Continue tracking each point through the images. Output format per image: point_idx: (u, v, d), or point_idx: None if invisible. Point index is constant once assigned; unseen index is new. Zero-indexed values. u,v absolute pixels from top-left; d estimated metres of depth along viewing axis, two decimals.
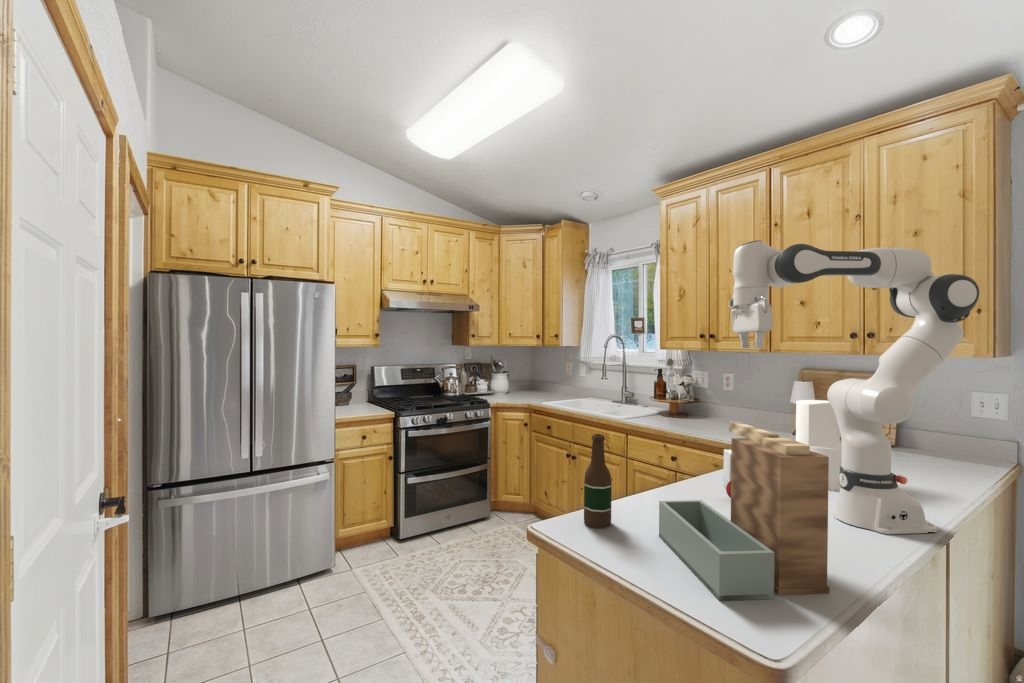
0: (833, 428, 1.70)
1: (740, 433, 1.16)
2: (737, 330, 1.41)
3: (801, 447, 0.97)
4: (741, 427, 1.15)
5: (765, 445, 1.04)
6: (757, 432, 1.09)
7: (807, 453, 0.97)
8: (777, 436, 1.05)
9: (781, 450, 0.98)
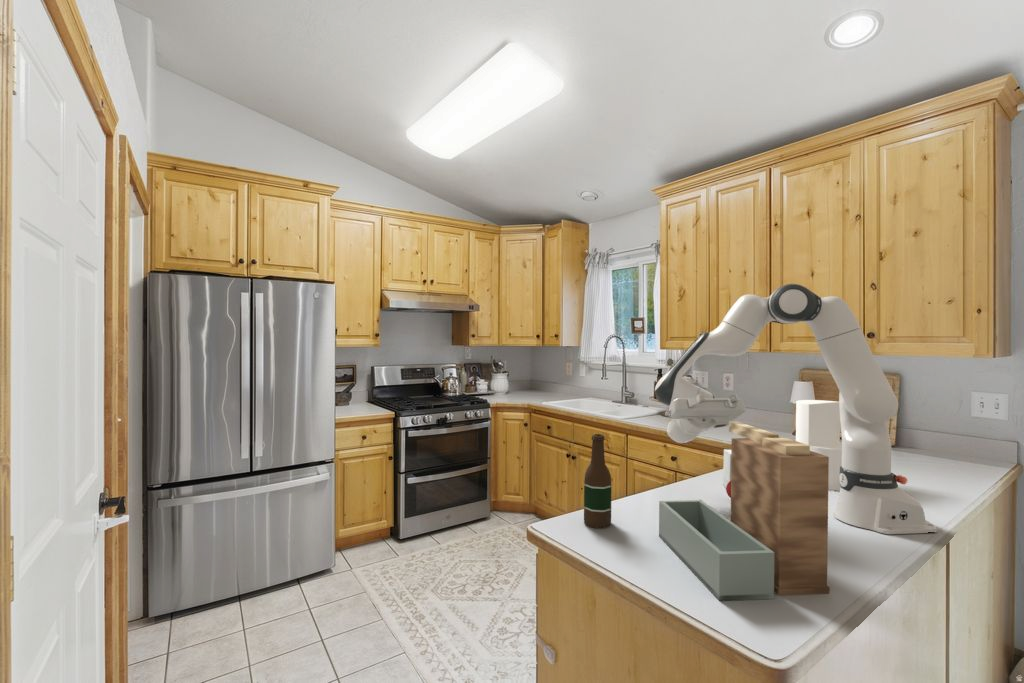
0: (833, 428, 1.70)
1: (740, 433, 1.16)
2: (731, 411, 1.32)
3: (801, 447, 0.97)
4: (741, 427, 1.15)
5: (765, 445, 1.04)
6: (757, 432, 1.09)
7: (807, 453, 0.97)
8: (777, 436, 1.05)
9: (781, 450, 0.98)
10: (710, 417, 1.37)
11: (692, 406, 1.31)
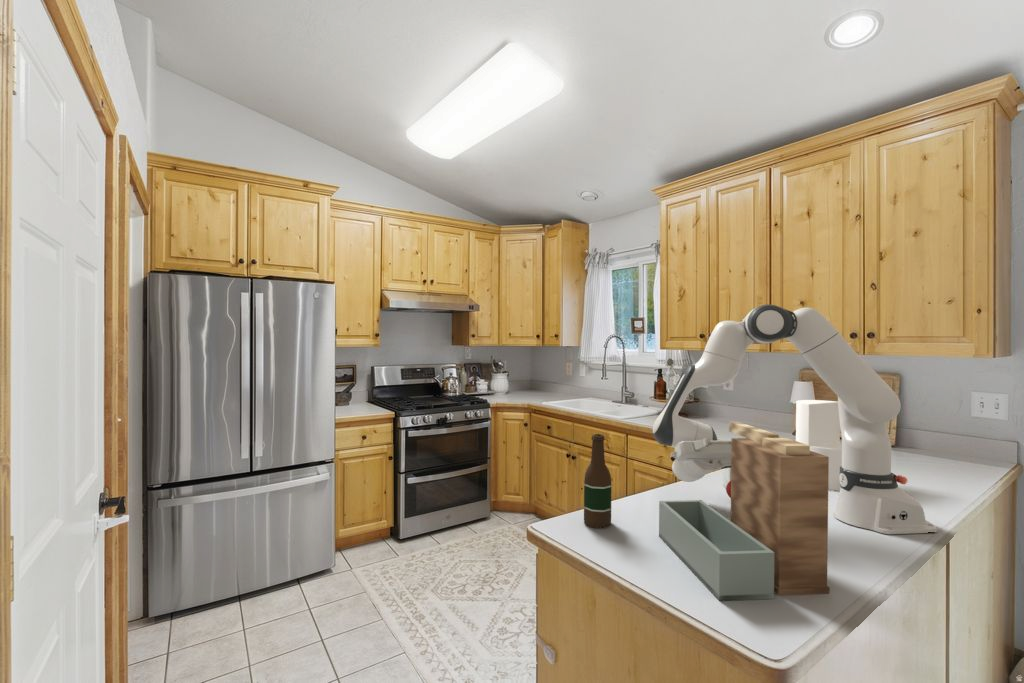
0: (833, 428, 1.70)
1: (740, 433, 1.16)
2: None
3: (801, 447, 0.97)
4: (741, 427, 1.15)
5: (765, 445, 1.04)
6: (757, 432, 1.09)
7: (807, 453, 0.97)
8: (777, 436, 1.05)
9: (781, 450, 0.98)
10: (717, 459, 1.33)
11: (698, 449, 1.27)
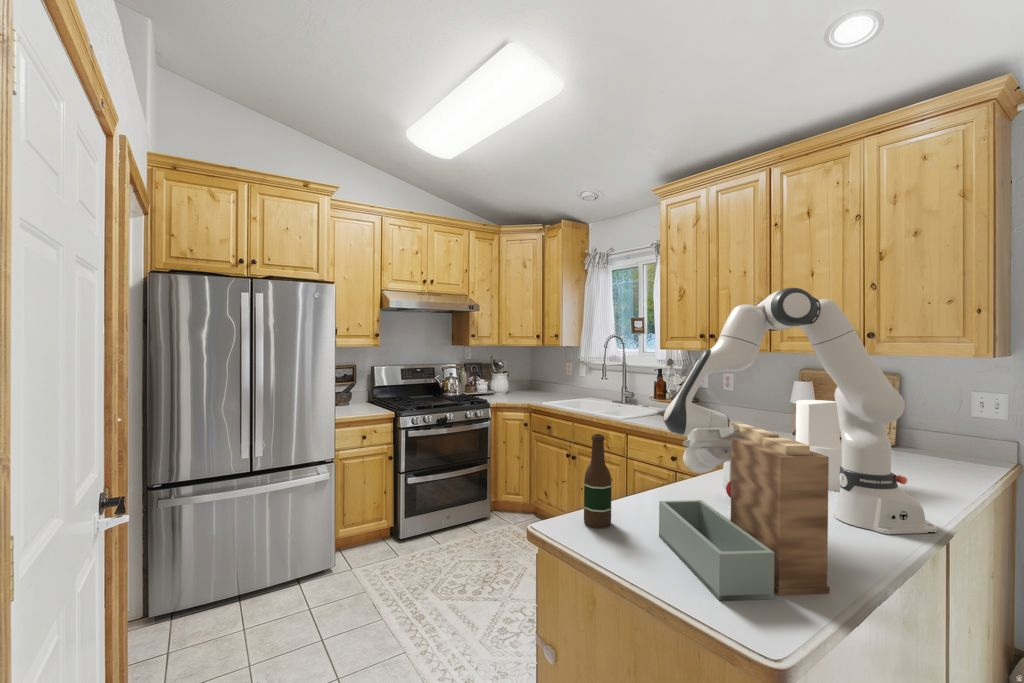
0: (833, 428, 1.70)
1: (740, 433, 1.16)
2: None
3: (801, 447, 0.97)
4: (741, 427, 1.15)
5: (765, 445, 1.04)
6: (757, 432, 1.09)
7: (807, 453, 0.97)
8: (777, 436, 1.05)
9: (781, 450, 0.98)
10: None
11: (725, 437, 1.19)
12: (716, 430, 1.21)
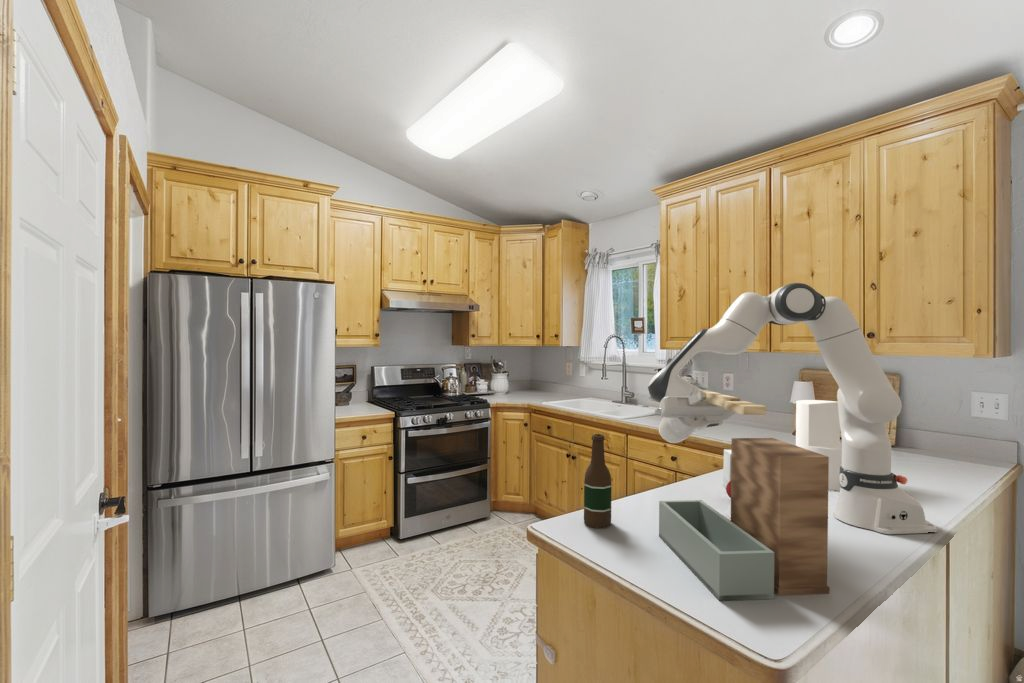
0: (833, 428, 1.70)
1: (707, 400, 1.21)
2: (724, 409, 1.26)
3: (758, 408, 1.02)
4: (708, 394, 1.21)
5: (726, 408, 1.09)
6: (721, 397, 1.14)
7: (764, 413, 1.03)
8: (739, 400, 1.10)
9: (739, 411, 1.04)
10: (702, 416, 1.30)
11: (693, 404, 1.25)
12: (685, 398, 1.27)
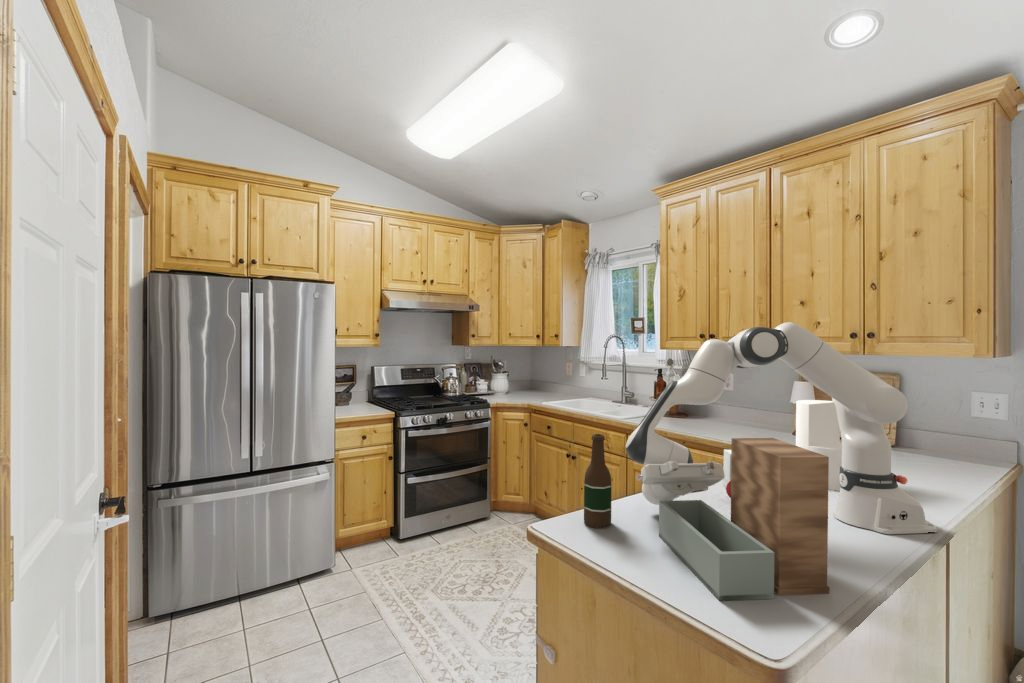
0: (833, 428, 1.70)
1: None
2: (709, 477, 1.19)
3: None
4: None
5: None
6: None
7: None
8: None
9: None
10: (686, 482, 1.23)
11: (665, 474, 1.17)
12: None
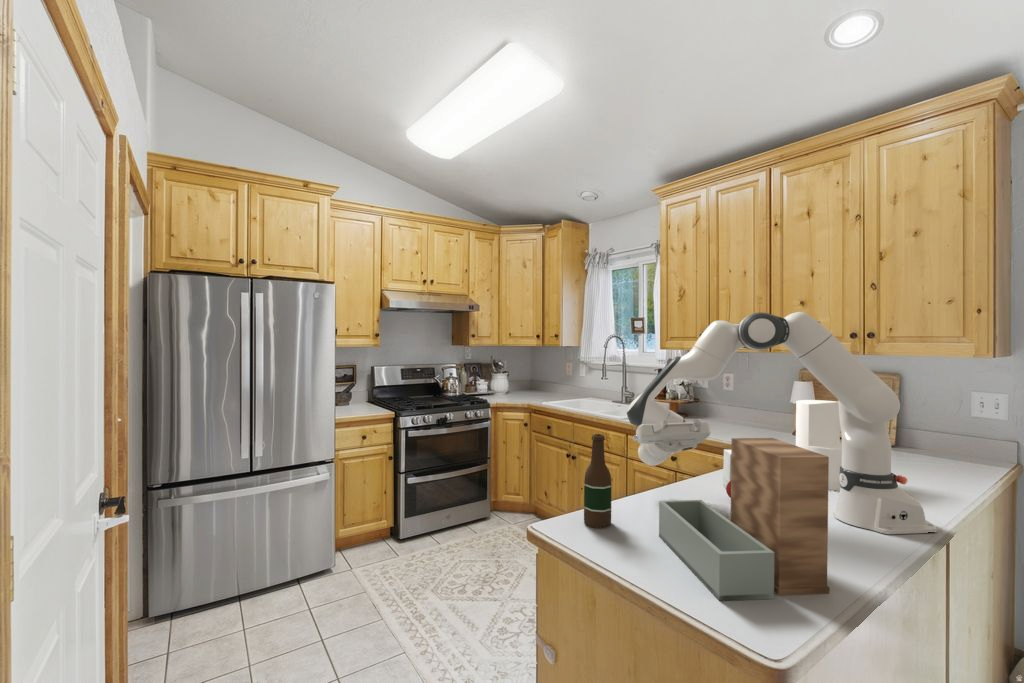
0: (833, 428, 1.70)
1: None
2: (696, 434, 1.34)
3: None
4: None
5: None
6: None
7: None
8: None
9: None
10: (677, 441, 1.38)
11: (657, 431, 1.32)
12: None
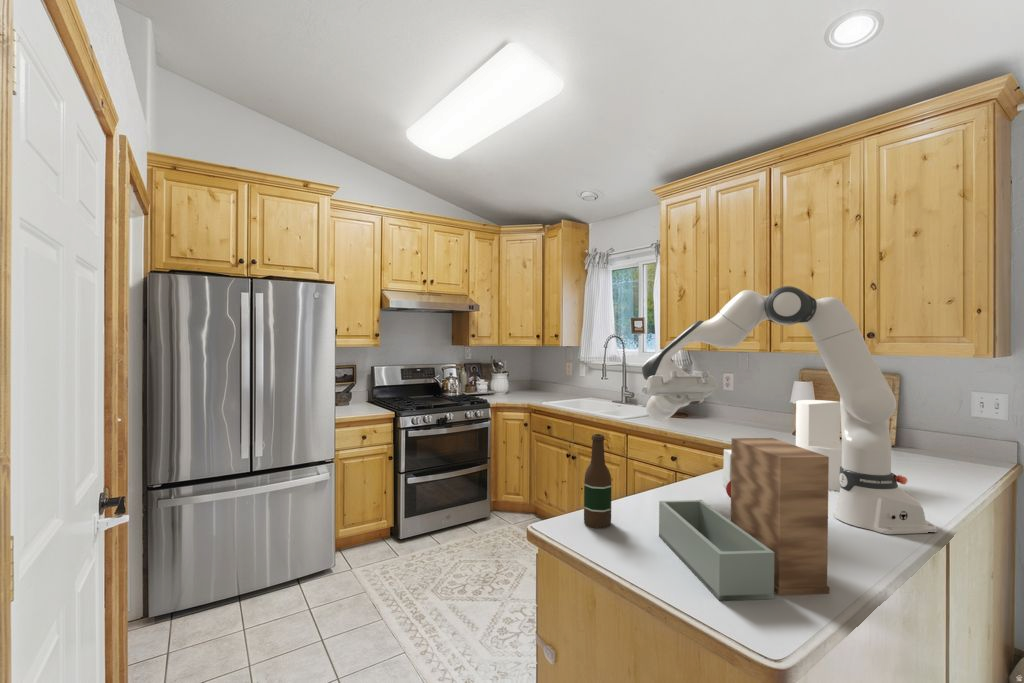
0: (833, 428, 1.70)
1: None
2: (704, 387, 1.39)
3: None
4: None
5: None
6: None
7: None
8: None
9: None
10: (684, 394, 1.43)
11: (666, 382, 1.37)
12: None
